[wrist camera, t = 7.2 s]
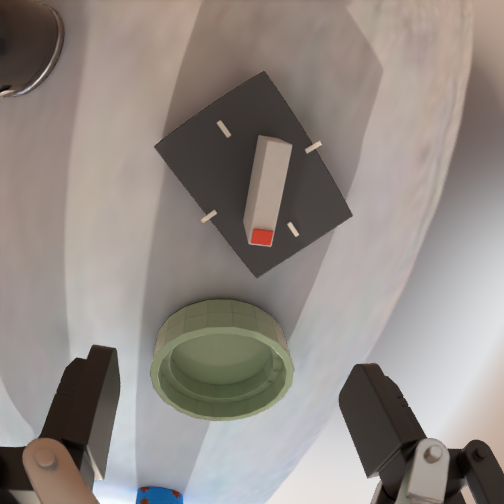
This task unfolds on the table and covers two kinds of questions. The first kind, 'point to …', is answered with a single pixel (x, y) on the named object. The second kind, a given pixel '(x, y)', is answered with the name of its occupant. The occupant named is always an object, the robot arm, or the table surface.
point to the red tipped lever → (266, 189)
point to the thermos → (158, 496)
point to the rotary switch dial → (240, 169)
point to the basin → (221, 361)
